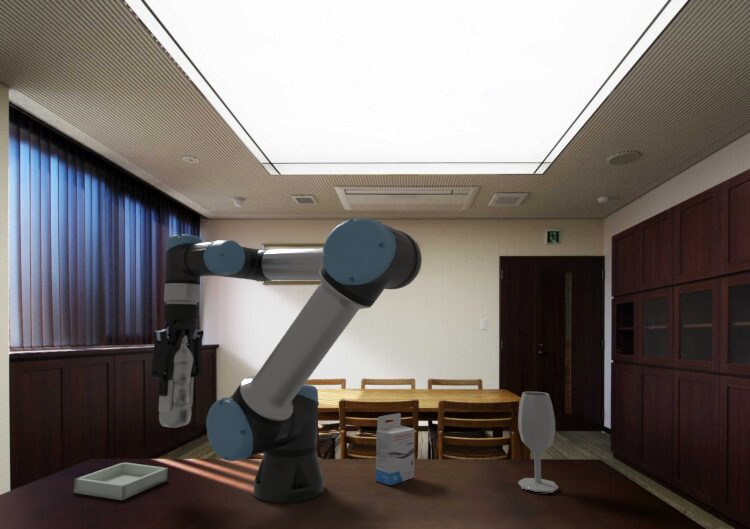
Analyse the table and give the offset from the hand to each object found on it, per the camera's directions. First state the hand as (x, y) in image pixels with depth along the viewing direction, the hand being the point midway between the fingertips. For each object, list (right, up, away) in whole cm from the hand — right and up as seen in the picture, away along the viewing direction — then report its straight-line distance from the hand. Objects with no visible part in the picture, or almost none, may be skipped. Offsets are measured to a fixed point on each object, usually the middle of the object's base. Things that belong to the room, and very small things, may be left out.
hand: (175, 408), depth 105 cm
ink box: (+49, -19, +7) cm, 53 cm away
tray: (-12, -18, +1) cm, 21 cm away
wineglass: (+81, -19, +3) cm, 83 cm away
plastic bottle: (0, -4, -1) cm, 4 cm away
